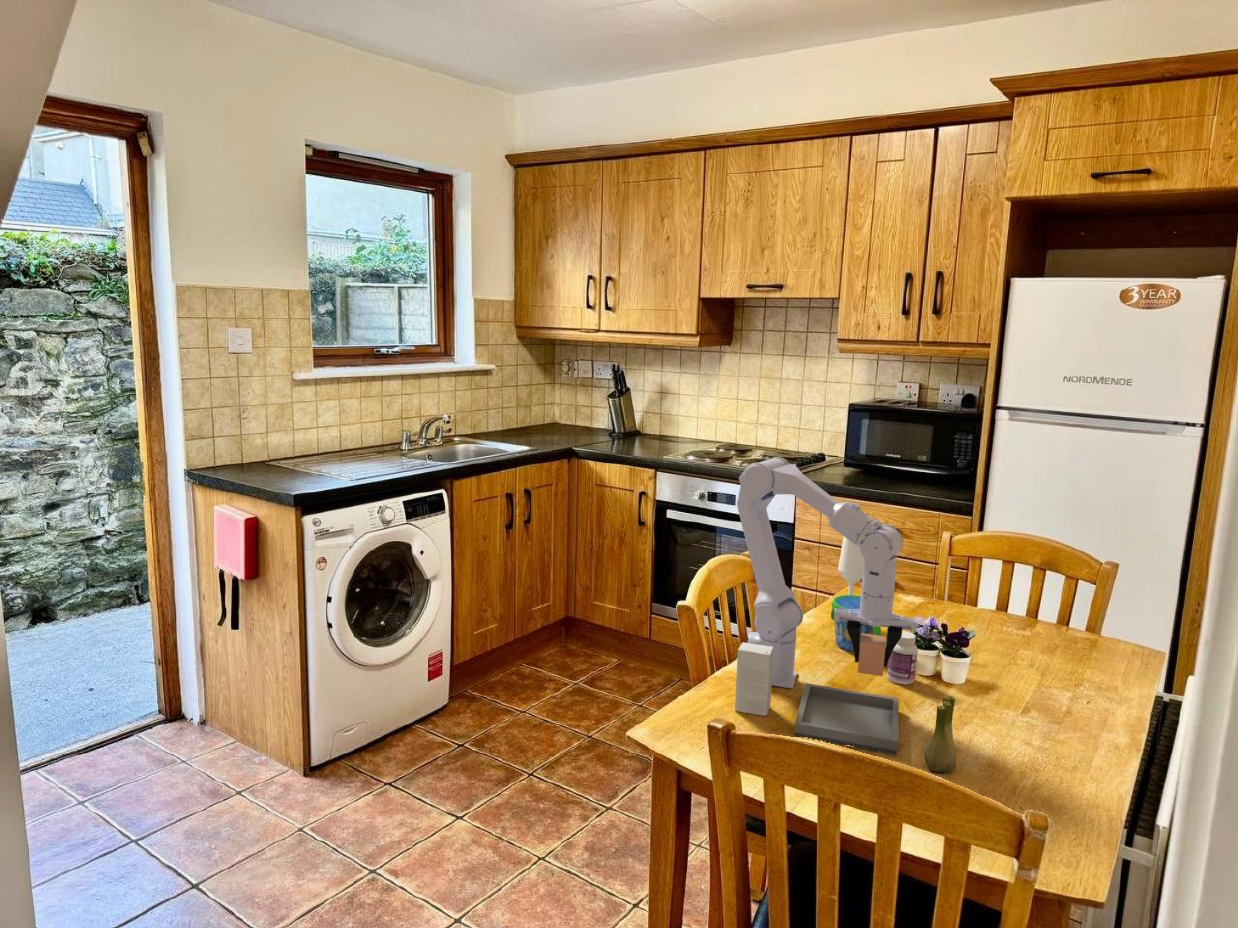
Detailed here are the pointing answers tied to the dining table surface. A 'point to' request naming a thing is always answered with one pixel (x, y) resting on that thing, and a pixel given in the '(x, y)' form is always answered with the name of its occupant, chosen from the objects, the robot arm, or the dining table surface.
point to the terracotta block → (871, 654)
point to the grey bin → (849, 718)
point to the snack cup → (841, 627)
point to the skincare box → (754, 679)
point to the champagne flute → (851, 564)
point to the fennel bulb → (942, 740)
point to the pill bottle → (903, 660)
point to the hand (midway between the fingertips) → (871, 662)
